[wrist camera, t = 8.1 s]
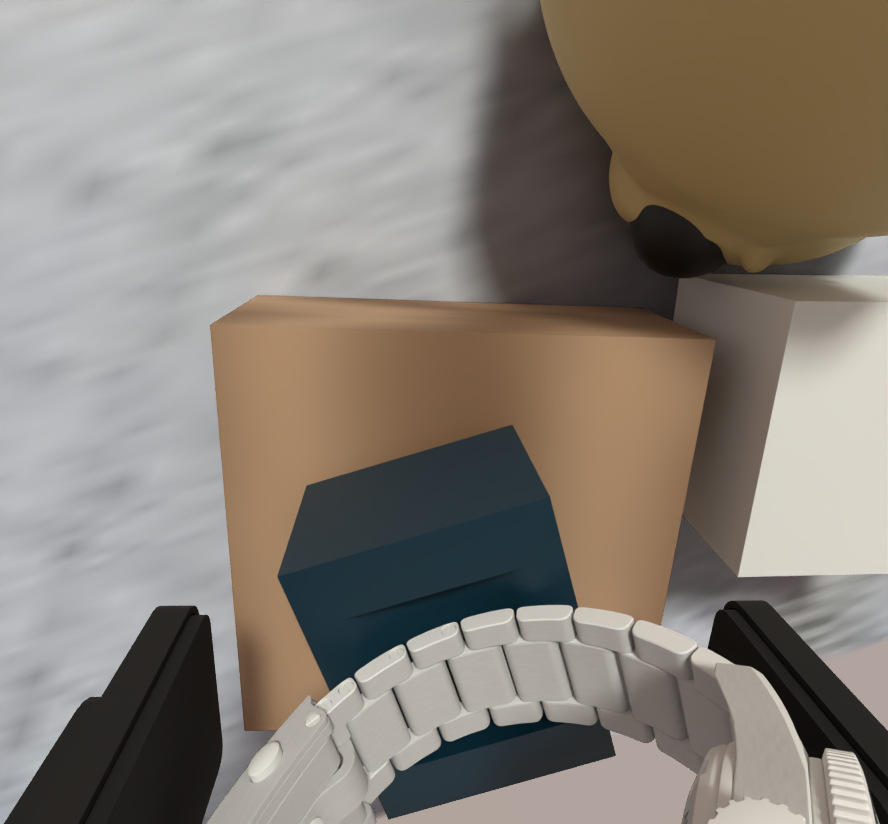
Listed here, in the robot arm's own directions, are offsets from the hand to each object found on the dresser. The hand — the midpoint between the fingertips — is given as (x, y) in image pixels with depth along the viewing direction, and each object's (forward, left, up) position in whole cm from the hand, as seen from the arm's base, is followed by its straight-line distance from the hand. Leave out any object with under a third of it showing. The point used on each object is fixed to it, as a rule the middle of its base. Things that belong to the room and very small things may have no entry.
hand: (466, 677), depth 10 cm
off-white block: (+9, +3, -8) cm, 12 cm away
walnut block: (0, 0, -8) cm, 8 cm away
